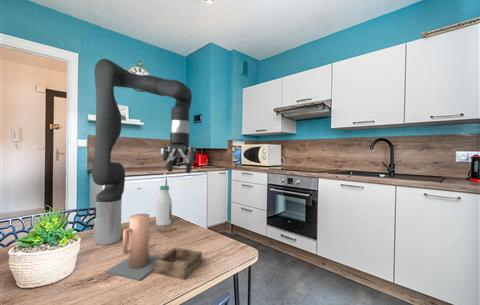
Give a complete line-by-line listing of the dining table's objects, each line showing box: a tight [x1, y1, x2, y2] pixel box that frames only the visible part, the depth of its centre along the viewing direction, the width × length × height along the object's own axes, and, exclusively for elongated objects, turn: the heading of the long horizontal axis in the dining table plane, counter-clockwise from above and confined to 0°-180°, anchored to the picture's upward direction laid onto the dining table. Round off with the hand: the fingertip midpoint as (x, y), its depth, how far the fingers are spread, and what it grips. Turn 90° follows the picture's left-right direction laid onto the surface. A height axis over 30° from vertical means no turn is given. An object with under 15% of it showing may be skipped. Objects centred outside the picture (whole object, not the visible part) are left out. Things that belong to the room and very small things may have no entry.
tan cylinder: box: [122, 213, 150, 269], centre depth 71 cm, size 8×6×16 cm
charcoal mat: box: [105, 254, 160, 282], centre depth 72 cm, size 13×13×1 cm
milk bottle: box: [155, 185, 173, 227], centre depth 114 cm, size 8×8×20 cm
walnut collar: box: [153, 247, 203, 280], centre depth 71 cm, size 11×11×4 cm
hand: (179, 172), depth 88 cm, fingers open, 8 cm apart
